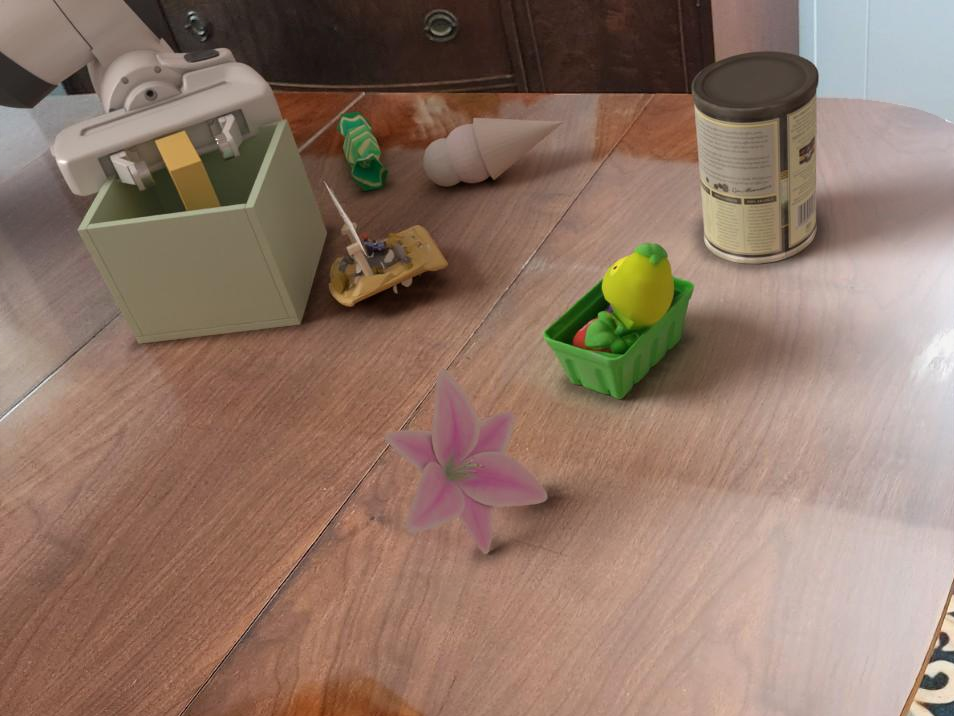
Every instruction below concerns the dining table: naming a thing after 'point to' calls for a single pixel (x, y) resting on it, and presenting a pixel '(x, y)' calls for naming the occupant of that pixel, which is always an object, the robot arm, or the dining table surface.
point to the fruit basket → (622, 323)
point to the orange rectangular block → (187, 172)
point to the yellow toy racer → (380, 261)
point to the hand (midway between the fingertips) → (187, 165)
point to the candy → (362, 151)
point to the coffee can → (757, 155)
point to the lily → (463, 466)
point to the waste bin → (212, 244)
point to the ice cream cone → (482, 149)
